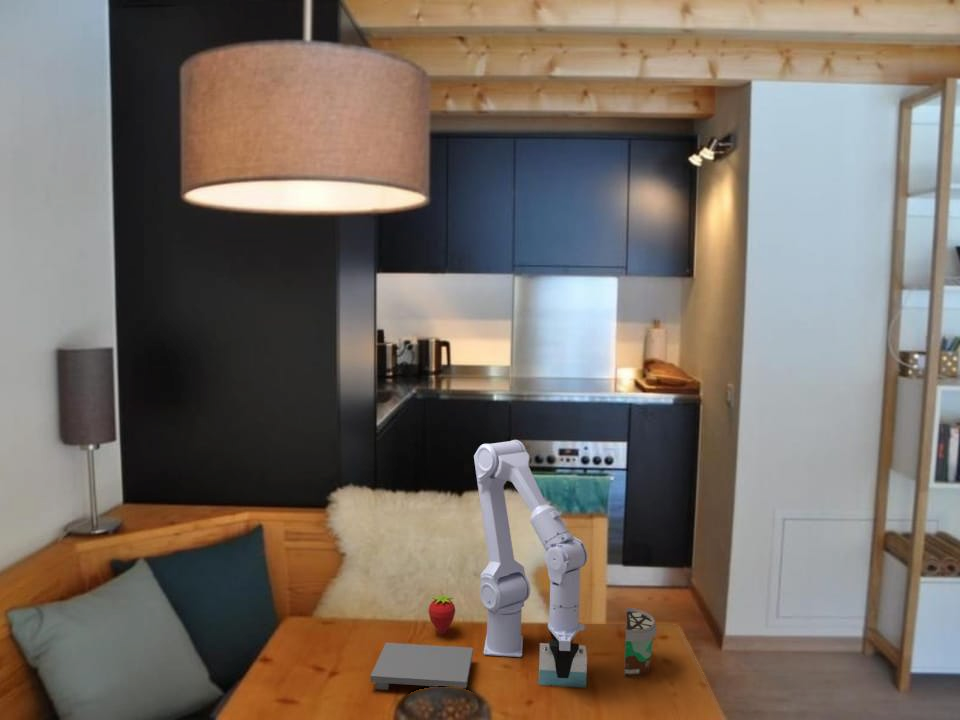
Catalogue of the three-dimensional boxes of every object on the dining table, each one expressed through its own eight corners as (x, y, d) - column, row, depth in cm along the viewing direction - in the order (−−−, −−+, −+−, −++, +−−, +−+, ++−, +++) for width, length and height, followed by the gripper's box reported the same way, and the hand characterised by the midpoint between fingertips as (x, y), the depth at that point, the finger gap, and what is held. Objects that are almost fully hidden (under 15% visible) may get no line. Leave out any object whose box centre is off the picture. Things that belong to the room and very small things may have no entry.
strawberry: (426, 641, 160) (427, 596, 159) (429, 626, 167) (430, 583, 167) (454, 642, 160) (455, 597, 159) (455, 627, 167) (456, 584, 167)
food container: (656, 684, 144) (658, 634, 143) (624, 680, 145) (626, 630, 144) (654, 655, 156) (656, 609, 155) (624, 652, 157) (626, 606, 156)
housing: (538, 672, 147) (539, 641, 147) (584, 675, 147) (585, 644, 146) (538, 684, 142) (539, 653, 142) (586, 687, 142) (587, 655, 141)
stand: (385, 656, 152) (385, 642, 152) (472, 662, 151) (472, 647, 151) (370, 691, 138) (370, 675, 138) (465, 697, 137) (466, 682, 137)
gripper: (587, 618, 136) (585, 690, 137) (583, 589, 151) (580, 654, 151) (549, 616, 137) (547, 687, 138) (548, 587, 151) (546, 652, 152)
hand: (562, 670), depth 145 cm, fingers closed on housing, 5 cm apart
